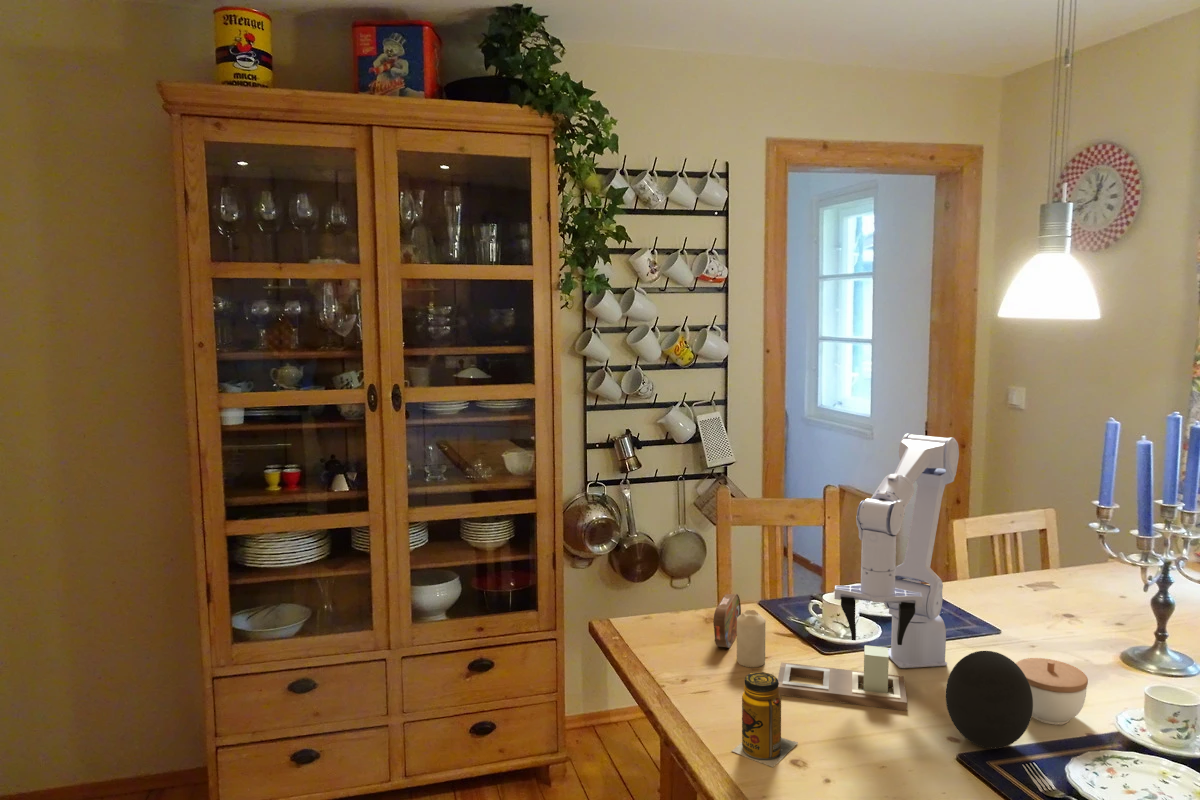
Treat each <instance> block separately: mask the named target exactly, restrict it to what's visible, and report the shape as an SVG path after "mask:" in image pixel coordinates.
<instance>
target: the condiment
mask: <svg viewBox="0 0 1200 800" xmlns="http://www.w3.org/2000/svg"><path fill="white" fill-rule="evenodd" d="M778 685H779V682H778V677H776V676H775V675H773V674H771V673H769V672H766V671H765V672H764V671H755V672H751V673H748V674H746V675H745V677H744V685H743V693H742V694H741V729H742V730H741V737H742V738H741V741H742V742H740V743H739V744H738V745H737V746H735V748H733V749H732V750H730V751H731V752H733V753H736V754H737V755H740V756H742V757H745V758H747V759H749V760H752V761H755V762H757V763H760V764H765V765H766V766H769V767H772V768H773V767H775V766H776V765H777V764H778V763H779V762H781V760H783V759H784V758H785V756H786V755H787V754H788V753H789V752H790V751H791V750H793V749H794V748H795V747H796V745H797V744H798V743H799V742H797V741H793V740H791V739H788V738H784V737H782V697H781V696H782V695H780V694H779V688H778Z"/></svg>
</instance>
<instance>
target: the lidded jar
mask: <svg viewBox="0 0 1200 800" xmlns="http://www.w3.org/2000/svg"><path fill="white" fill-rule="evenodd" d="M1015 663H1016V664H1017V665H1018V666H1019V668H1020V669H1021V670H1022V671H1023V673H1024V674H1025V676H1026V678H1027V680H1028V682H1029V685H1030V688H1031V692H1032V697H1033V711H1032V717H1031V718H1033V719H1035V720H1036V721H1039V722H1042V723H1045V724H1048V725H1057V726H1058V725H1065V724H1067V723H1069V721H1070V720H1072V719H1074V718H1075V717H1076V716H1078V715H1079V713H1081V711H1082V709H1083V708H1084V706H1085V705H1084V704H1085V701H1086V697H1087V688H1088V685H1089V679H1088V676H1087V675H1086V673H1085V672H1083V671H1082V670H1081V669H1079V668H1078V667H1075V666H1074V665H1071V664H1069V663H1066V662H1063V661H1059V660H1055V659H1050V658H1041V657H1030V658H1029V657H1028V658H1023V659H1021V660H1020V659H1019V660H1018V661H1017V662H1015Z"/></svg>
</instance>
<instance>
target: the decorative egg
mask: <svg viewBox="0 0 1200 800" xmlns="http://www.w3.org/2000/svg"><path fill="white" fill-rule="evenodd" d="M1016 663H1017V662H1015V661H1014V660H1013V659H1011V658H1010V657H1008V656H1006V655H1004V654H1002V653H1000V652H996V651H992V650H979V651H974V652H971V653H969V654H967V655H965V656H964V657H962V658H961V659H959V661H958V662H957V663H956V664H955V665H954V667H953V668H952V669H951V671H950V674H949V676H948V678H947V681H946V686H945V704H946V710H947V712H948V715H949V718H950V720H951V722H952V723H953V725H954V727H955V729H956V730H957V731H958V732H959V733H960V734H961V735H962V737H963V738H965V739H966V740H967V741H969V742H970V743H973V745H976V746H978V747H982V748H986V749H1000V748H1004V747H1008V746H1010V745H1012V744H1014V743H1015V742H1017V741H1018V740H1019V739H1021V737H1022V736H1023V735H1024V734H1025V733H1026V731H1027V729H1028V727H1029V725H1030V722H1031V720H1032V718H1033V717H1032V711H1033V697H1032V692H1031V688H1030V685H1029V682H1028V680H1027V678H1026V676H1025V674H1024V673H1023V671H1022V670H1021V669H1020V668H1019V666H1018V665H1017V664H1016Z"/></svg>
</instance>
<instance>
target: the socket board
mask: <svg viewBox="0 0 1200 800" xmlns="http://www.w3.org/2000/svg"><path fill="white" fill-rule="evenodd" d="M778 670H779V672H778V676H777V679H778V682H779V685H778V688H779V694H780V696H787V697H792V698H802V699H803V698H804V699H808V700H809V699H811V700H819V701H826V702H834V703H843V704H850V705H851V704H852V705H856V706H857V705H858V706H867V707H874V708H880V709H881V708H882V709H889V710H897V711H905V712H907V711H908V699H907V698H908V697H907V692H906V683H905V676H904V675H899V674H898V675H897V674H896V675H895V674H889V673H888V688H892V693H888V694H886V693H878V692H870V691H863V690H861V689H859V685H863V684H864V670H863V671H862V670H861V671H859V670H854V669H853V670H852V669H842V668H835V667H826V666H819V665H807V664H799V663H792V662H785V661H784V662H783V661H781V662H780V666H779V669H778ZM791 677H798V678H799V677H801V678H809V679H818V680H822V685H821V684H820V685H818V684H811V683H803V682H802V683H801V682H793V681H791Z"/></svg>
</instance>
